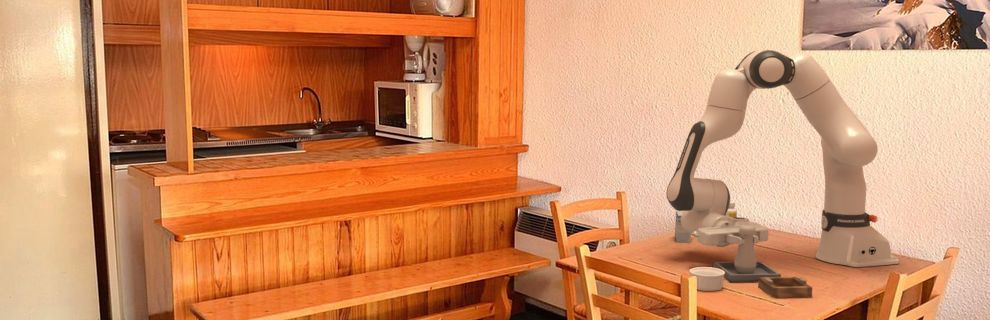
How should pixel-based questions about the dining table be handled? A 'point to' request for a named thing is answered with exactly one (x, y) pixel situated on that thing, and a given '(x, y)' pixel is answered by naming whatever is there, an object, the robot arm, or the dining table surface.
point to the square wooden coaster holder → (785, 287)
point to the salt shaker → (746, 251)
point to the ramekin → (708, 278)
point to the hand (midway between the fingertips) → (749, 241)
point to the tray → (735, 277)
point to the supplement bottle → (731, 210)
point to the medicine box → (681, 230)
